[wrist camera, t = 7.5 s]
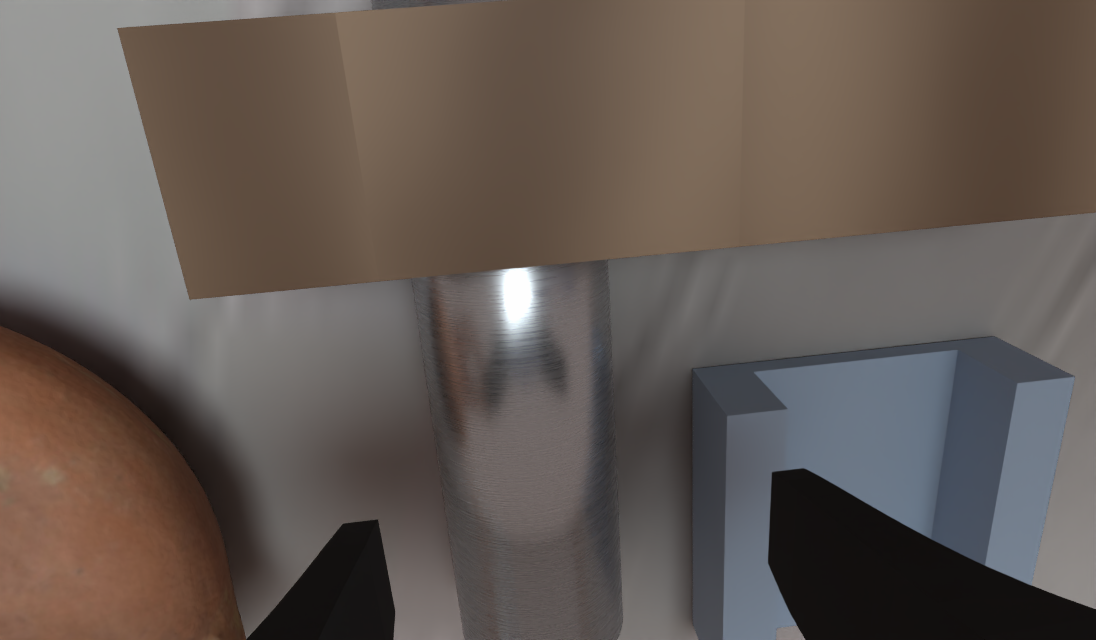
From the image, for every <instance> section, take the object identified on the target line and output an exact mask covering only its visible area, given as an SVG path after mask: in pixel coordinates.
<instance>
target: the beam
mask: <svg viewBox="0 0 1096 640" xmlns="http://www.w3.org/2000/svg"><path fill="white" fill-rule="evenodd" d="M117 29H118V33H119V36H120V40H121V44H122V48H123V51H124V55H125V59H126V63H127V66H128V70H129V74H130V78H131V81H132V85H133V89H134V93H135V96H136V100H137V104H138V108H139V111H140V115H141V119H142V123H143V126H144V130H145V134H146V138H147V141H148V145H149V149H150V153H151V156H152V160H153V164H154V168H155V172H156V175H157V179H158V183H159V187H160V190H161V194H162V198H163V202H164V205H165V209H166V213H167V217H168V220H169V224H170V228H171V232H172V235H173V239H174V243H175V247H176V250H177V254H178V258H179V262H180V265H181V269H182V273H183V277H184V280H185V284H186V288H187V292H188V295H189V299H190V300H191V299H201V298H212V297H222V296H233V295H243V294H253V293H264V292H274V291H285V290H295V289H305V288H316V287H326V286H337V285H347V284H357V283H368V282H378V281H388V280H399V279H409V278H420V277H430V276H440V275H451V274H461V273H472V272H482V271H492V270H503V269H513V268H523V267H534V266H544V265H555V264H565V263H575V262H586V261H596V260H607V259H617V258H627V257H638V256H648V255H658V254H669V253H679V252H690V251H700V250H710V249H721V248H731V247H742V246H752V245H762V244H773V243H783V242H794V241H804V240H814V239H825V238H835V237H845V236H856V235H866V234H877V233H887V232H897V231H908V230H918V229H929V228H939V227H949V226H960V225H970V224H980V223H991V222H1001V221H1012V220H1022V219H1032V218H1043V217H1053V216H1064V215H1074V214H1084V213H1095V212H1096V0H508V1H494V2H480V3H466V4H452V5H437V6H423V7H409V8H395V9H381V10H367V11H352V12H338V13H324V14H310V15H296V16H282V17H268V18H253V19H239V20H225V21H211V22H197V23H183V24H168V25H154V26H140V27H126V28H117Z"/></svg>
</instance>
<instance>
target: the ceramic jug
mask: <svg viewBox="0 0 1096 640" xmlns="http://www.w3.org/2000/svg"><path fill="white" fill-rule="evenodd" d="M0 640H246V637H245V632H244V628H243V624H242V621H241V617H240V614H239V611H238V607H237V603H236V598H235V595H234V589H233V584H232V580H231V576H230V569H229V564H228V557H227V554H226V549H225V545H224V541H223V538H222V534H221V530H220V528H219V525H218V521H217V519H216V516H215V514H214V512H213V509H212V507H211V505H210V503H209V500H208V498H207V496H206V494H205V492H204V490H203V488H202V486H201V485H200V483H199V481H198V479H197V478H196V476H195V475H194V473H193V471H192V470H191V468H190V467H189V465H188V464H187V463H186V461H185V459H184V458H183V456H182V455H181V454H180V452H179V451H178V450H177V448H176V447H175V446H174V445H173V444H172V442H171V441H170V440H169V439H168V438H167V437H166V436H165V434H164V433H163V432H162V431H161V430H160V429H159V428H158V427H157V426H156V425H155V424H154V423H153V422H152V421H151V420H150V419H149V418H148V417H147V416H146V415H145V414H144V413H143V412H142V411H141V410H140V409H139V408H138V407H136V406H135V405H134V404H133V403H132V402H131V401H130V400H129V399H127V398H126V397H125V396H124V395H123V394H121V393H120V392H119V391H117V390H116V389H115V388H114V387H112V386H111V385H110V384H108V383H107V382H106V381H104V380H103V379H102V378H100V377H98V376H97V375H95V374H94V373H92V372H91V371H89V370H88V369H86V368H85V367H83V366H81V365H80V364H78V363H77V362H75V361H73V360H72V359H70V358H68V357H66V356H65V355H63V354H61V353H59V352H57V351H55V350H53V349H52V348H50V347H48V346H46V345H44V344H42V343H39V342H37V341H35V340H33V339H31V338H29V337H27V336H24V335H22V334H20V333H17V332H15V331H12V330H10V329H8V328H5V327H2V326H0Z"/></svg>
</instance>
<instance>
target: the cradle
mask: <svg viewBox="0 0 1096 640" xmlns="http://www.w3.org/2000/svg"><path fill="white" fill-rule="evenodd" d="M1074 380H1075V376H1073V375H1071V374H1069V373H1067V372H1065V371H1063V370H1061V369H1059V368H1057V367H1055V366H1053V365H1051V364H1049V363H1047V362H1045V361H1043V360H1041V359H1039V358H1037V357H1035V356H1033V355H1031V354H1029V353H1027V352H1025V351H1023V350H1021V349H1019V348H1017V347H1015V346H1013V345H1011V344H1009V343H1007V342H1005V341H1003V340H1001V339H999V338H997V337H995V336H994V337H984V338H975V339H966V340H957V341H947V342H938V343H929V344H919V345H910V346H901V347H892V348H882V349H873V350H864V351H854V352H845V353H836V354H827V355H817V356H808V357H799V358H789V359H780V360H771V361H762V362H752V363H743V364H734V365H724V366H715V367H706V368H697V369H693V626H694V629H695V631H696V634H697V636H698V639H699V640H776V630H777V628H781V627H788V626H796V625H797V624H796V623H795V621H794V619H793V618H792V616H791V614H790V612H789V610H788V608H787V606H786V604H785V601H784V599H783V597H782V595H781V593H780V590H779V588H778V586H777V583H776V581H775V579H774V576H773V574H772V572H771V569H770V567H769V565H768V547H769V524H770V502H771V479H772V472H775V471H783V470H792V469H800V468H805V469H807V470H809V471H811V472H813V473H815V474H817V475H818V476H820V477H822V478H824V479H826V480H827V481H829V482H831V483H833V484H834V485H836V486H838V487H840V488H841V489H843V490H845V491H846V492H848V493H850V494H852V495H853V496H855V497H857V498H858V499H860V500H862V501H864V502H865V503H867V504H869V505H870V506H872V507H874V508H876V509H877V510H879V511H881V512H883V513H884V514H886V515H888V516H890V517H891V518H893V519H895V520H897V521H899V522H900V523H902V524H904V525H906V526H908V527H909V528H911V529H913V530H915V531H917V532H919V533H921V534H923V535H924V536H926V537H928V538H930V539H932V540H934V541H936V542H938V543H940V544H942V545H944V546H946V547H948V548H950V549H952V550H954V551H956V552H958V553H960V554H962V555H964V556H966V557H968V558H970V559H972V560H974V561H976V562H979V563H981V564H983V565H985V566H987V567H989V568H992V569H994V570H996V571H999V572H1001V573H1003V574H1006V575H1008V576H1010V577H1013V578H1015V579H1017V580H1020V581H1022V582H1024V583H1027V584H1029V585H1032V580H1033V575H1034V570H1035V566H1036V561H1037V556H1038V551H1039V547H1040V542H1041V537H1042V532H1043V528H1044V523H1045V518H1046V513H1047V509H1048V504H1049V499H1050V494H1051V489H1052V485H1053V480H1054V475H1055V470H1056V466H1057V461H1058V456H1059V451H1060V447H1061V442H1062V437H1063V432H1064V428H1065V423H1066V418H1067V413H1068V409H1069V404H1070V399H1071V394H1072V389H1073V385H1074Z"/></svg>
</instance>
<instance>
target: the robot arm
mask: <svg viewBox="0 0 1096 640" xmlns="http://www.w3.org/2000/svg"><path fill="white" fill-rule="evenodd" d="M768 565H769V567H770V569H771V572H772V574H773V576H774V579H775V581H776V583H777V586H778V588H779V590H780V593H781V595H782V597H783V599H784V601H785V604H786V606H787V608H788V610H789V612H790V614H791V616H792V618H793V619H794V621H795V623H796V624H797V626H798V628H799V629H800V631H801V633H802V634H803V636H804V638H805V639H806V640H1096V609H1093V608H1090V607H1088V606H1085V605H1082V604H1079V603H1076V602H1074V601H1071V600H1068V599H1065V598H1062V597H1060V596H1057V595H1054V594H1052V593H1049V592H1047V591H1044V590H1042V589H1039V588H1036V587H1034V586H1031V585H1029V584H1027V583H1024V582H1022V581H1020V580H1017V579H1015V578H1013V577H1010V576H1008V575H1006V574H1003V573H1001V572H999V571H996V570H994V569H992V568H989V567H987V566H985V565H983V564H981V563H979V562H976V561H974V560H972V559H970V558H968V557H966V556H964V555H962V554H960V553H958V552H956V551H954V550H952V549H950V548H948V547H946V546H944V545H942V544H940V543H938V542H936V541H934V540H932V539H930V538H928V537H926V536H924V535H923V534H921V533H919V532H917V531H915V530H913V529H911V528H909V527H908V526H906V525H904V524H902V523H900V522H899V521H897V520H895V519H893V518H891V517H890V516H888V515H886V514H884V513H883V512H881V511H879V510H877V509H876V508H874V507H872V506H870V505H869V504H867V503H865V502H864V501H862V500H860V499H858V498H857V497H855V496H853V495H852V494H850V493H848V492H846V491H845V490H843V489H841V488H840V487H838V486H836V485H834V484H833V483H831V482H829V481H827V480H826V479H824V478H822V477H820V476H818V475H817V474H815V473H813V472H811V471H809V470H807V469H805V468H800V469H792V470H783V471H775V472H772V479H771V502H770V524H769V547H768ZM394 622H395V608H394V602H393V597H392V592H391V587H390V581H389V576H388V571H387V565H386V560H385V555H384V549H383V544H382V539H381V533H380V528H379V523H378V520H370V521H362V522H353V523H345V524H343V525H342V526H341V527H340V528H339V529H338V530H337V532H336V533H335V534H334V535H333V537H332V538H331V539H330V540H329V542H328V543H327V544H326V545H325V547H324V548H323V549H322V551H321V552H320V553H319V554H318V556H317V557H316V558H315V560H314V561H313V562H312V563H311V565H310V566H309V567H308V568H307V570H306V571H305V572H304V573H303V575H302V576H301V577H300V578H299V580H298V581H297V582H296V583H295V584H294V586H293V587H292V588H291V589H290V590H289V592H288V593H287V594H286V595H285V596H284V598H283V599H282V600H281V601H280V602H279V604H278V605H277V606H276V607H275V608H274V610H273V611H272V612H271V613H270V614H269V615H268V616H267V617H266V619H265V620H264V621H263V622H262V623H261V624H260V625H259V626H258V627H257V628H256V630H255V631H254V632H253V633H252V634H251V635H250V636H249V637H248V638H247V639H246V640H393V637H394Z"/></svg>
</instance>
